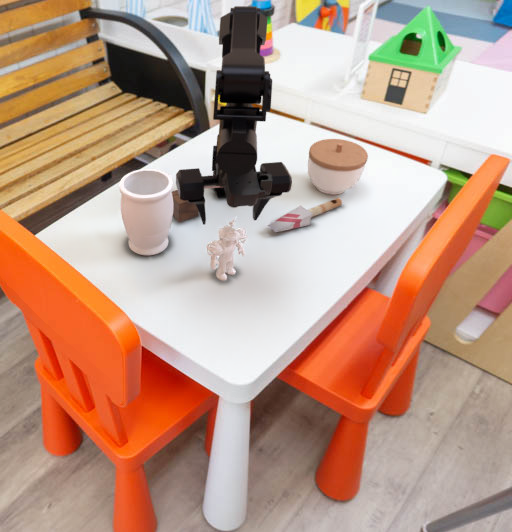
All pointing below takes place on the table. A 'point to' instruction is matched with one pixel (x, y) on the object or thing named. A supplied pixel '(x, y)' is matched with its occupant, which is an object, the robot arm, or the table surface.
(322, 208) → the garden trowel
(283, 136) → the table surface
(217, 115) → the robot arm
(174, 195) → the toy block
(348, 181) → the lidded bowl
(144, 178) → the jar
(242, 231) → the pink action figure
